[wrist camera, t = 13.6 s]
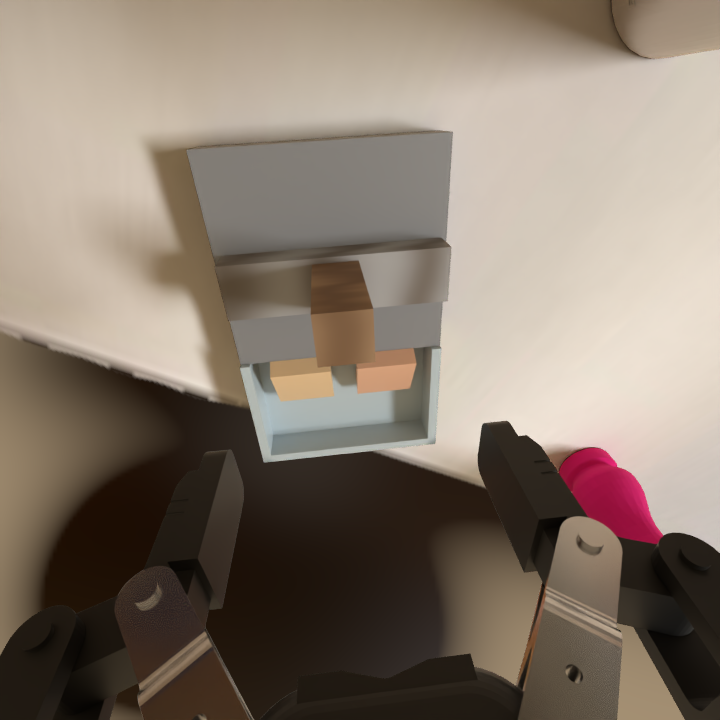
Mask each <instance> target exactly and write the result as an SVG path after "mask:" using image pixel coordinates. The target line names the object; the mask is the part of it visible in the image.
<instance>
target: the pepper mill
mask: <svg viewBox="0 0 720 720" xmlns="http://www.w3.org/2000/svg"><path fill="white" fill-rule="evenodd" d="M559 474H560V476H561V477H562V479H563V480H564V482H565V483H566V485H567V486H568V488H569V489H570V491H571V492H572V494H573V495H574V497H575V498H576V500H577V501H578V503H579V504H580V506H581V507H582V509H583V510H584V512H585V513H586V514H587V516H588V517H589V518H591V519H594V520H596V521H598V522H600V523H602V524H604V525H605V526H606V527H608V528H609V529H610V530H611V531H612V532H613V533H614V534H615V535H616V536H618V537H622V538H626V539H631V540H637V541H643V542H648V543H654V544H658V542H659V540H660V539H661V537H663V535H662V533H661V532H660V531H659V529H658V528H657V527H656V525H655V523H654V521H653V519H652V517H651V515H650V511H649V508H648V504H647V501H646V497H645V493H644V491H643V489H642V487H641V485H640V484H639V482H638V481H637V480H636V478H635V477H634V476H633V475H632V474H631V473H630V472H628V471H626V470H624V469H622V468H618V467H617V464H616V462H615V461H614V460H613V459H612V458H611V456H610V455H609V454H608V453H607V452H606V451H604V450H602V449H600V448H587V449H583V450H580V451H578V452H576V453H574V454H572V455H571V456H569V457H568V458H567V459H566V460H565V461H564V462H563V464H562V465H561V467H560V471H559Z"/></svg>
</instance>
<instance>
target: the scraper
mask: <svg viewBox="0 0 720 720" xmlns="http://www.w3.org/2000/svg"><path fill="white" fill-rule="evenodd" d="M450 259H451V246H450V245H449V244H448V243H447V242H446V241H445V240H443V239H442V238H429V239H417V240H405V241H393V242H381V243H369V244H357V245H345V246H333V247H321V248H309V249H297V250H285V251H273V252H261V253H249V254H237V255H225V256H222V257H221V258H220V260H219V261H218V263H217V264H216V265H215V271H216V275H217V279H218V283H219V286H220V290H221V294H222V298H223V302H224V306H225V310H226V314H227V317H228V321H236V320H247V319H258V318H269V317H280V316H291V315H302V314H311V322H312V329H313V337H314V344H315V352H316V359H317V367H318V368H320V367H330V366H340V365H350V364H360V363H371V362H376V360H375V336H374V312H373V308H378V307H389V306H400V305H410V304H421V303H432V302H443V301H448V289H449V274H450Z"/></svg>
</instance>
